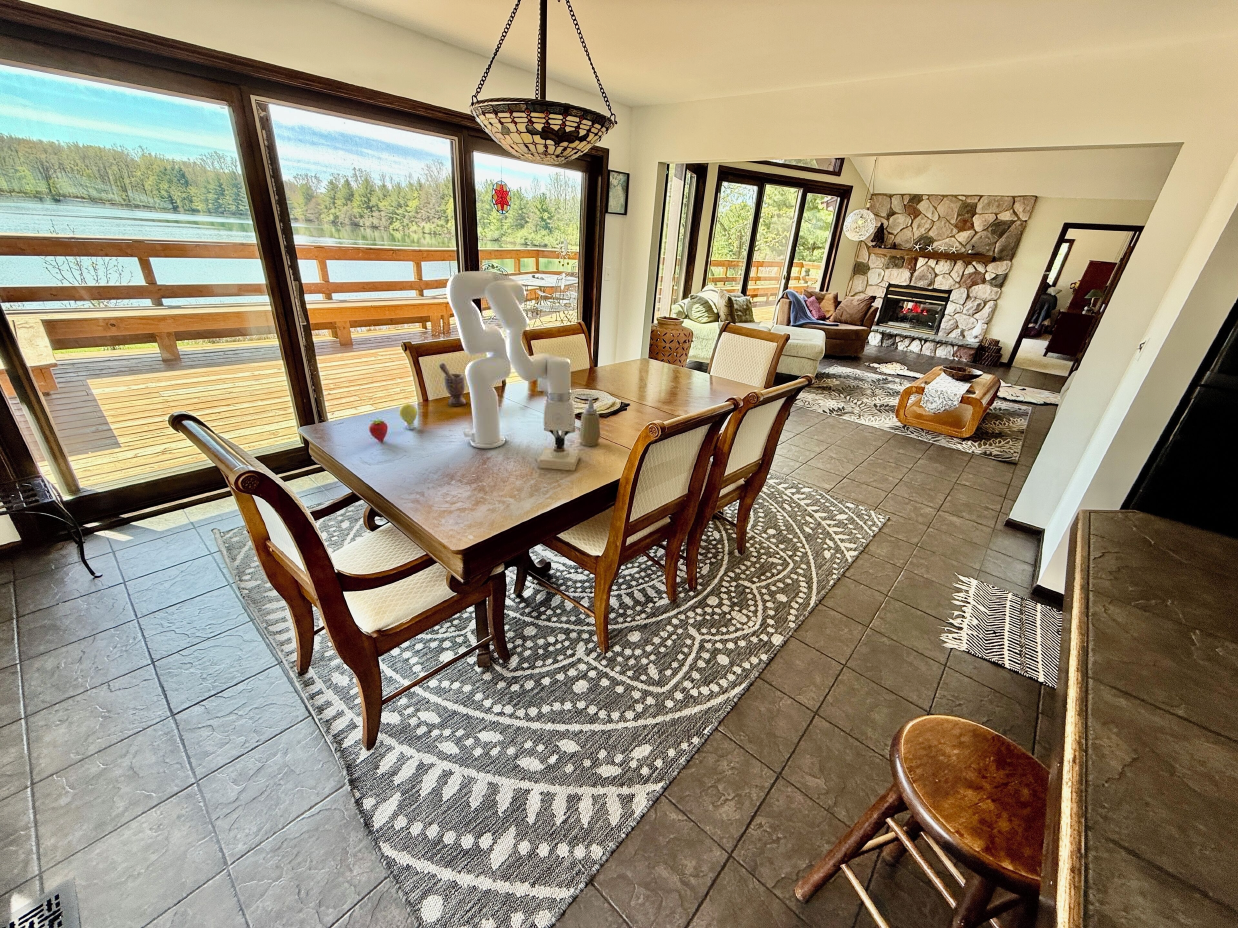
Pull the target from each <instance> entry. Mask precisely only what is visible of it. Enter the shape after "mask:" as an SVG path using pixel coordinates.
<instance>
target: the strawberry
mask: <svg viewBox="0 0 1238 928" xmlns="http://www.w3.org/2000/svg"><path fill="white" fill-rule="evenodd" d="M376 419H377V420H376ZM376 419H375V420H371V423H370V425H369V426H368V432H369V433H370V435H371V436H372V437H373V438H374V439H375V440H377V441H378V442H379V443H382V442H384V440H385V438H386V437H387V433H388V429H389V427H388V425H387V423H386V421H385V420H383V419H382V418H378V417H376Z"/></svg>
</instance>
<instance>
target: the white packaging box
mask: <svg viewBox="0 0 1238 928" xmlns="http://www.w3.org/2000/svg"><path fill="white" fill-rule="evenodd" d="M537 391H538V392H546V391H548V385H547V377H542V378H539V379H537Z"/></svg>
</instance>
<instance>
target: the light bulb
mask: <svg viewBox="0 0 1238 928" xmlns="http://www.w3.org/2000/svg"><path fill="white" fill-rule="evenodd" d="M398 414H399V416H400V418H401V419H402V420H403V421H404V422H405V427H406V429H407V430H414V429H415V422H414V421H415V420H416V418H417V416H418V409H417V407H416V406H415V405H413V404H411V403H404V404H402V405H401V406H400V407H399V409H398Z"/></svg>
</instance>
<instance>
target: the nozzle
mask: <svg viewBox="0 0 1238 928" xmlns="http://www.w3.org/2000/svg"><path fill="white" fill-rule="evenodd" d="M553 447H554V452H564V451H565V447H566V446H565V445H564V446H563V447H562V449H560V448H559V449H557V445H554V446H553Z"/></svg>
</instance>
